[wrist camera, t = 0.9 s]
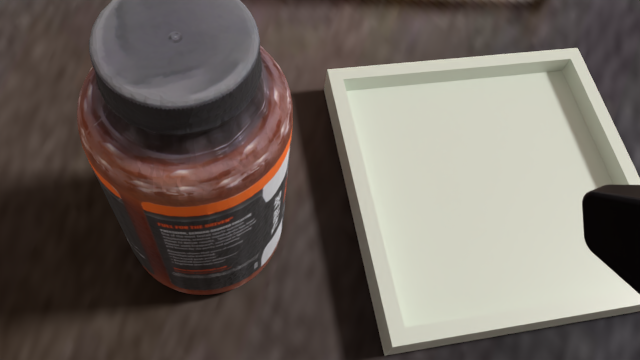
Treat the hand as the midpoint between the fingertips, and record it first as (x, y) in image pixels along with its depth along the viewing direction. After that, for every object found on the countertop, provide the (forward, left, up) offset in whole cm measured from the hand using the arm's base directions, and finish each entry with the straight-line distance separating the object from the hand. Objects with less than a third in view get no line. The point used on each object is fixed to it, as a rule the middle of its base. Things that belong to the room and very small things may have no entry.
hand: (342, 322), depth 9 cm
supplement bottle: (+8, +2, -14) cm, 16 cm away
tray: (+8, -10, -14) cm, 19 cm away
